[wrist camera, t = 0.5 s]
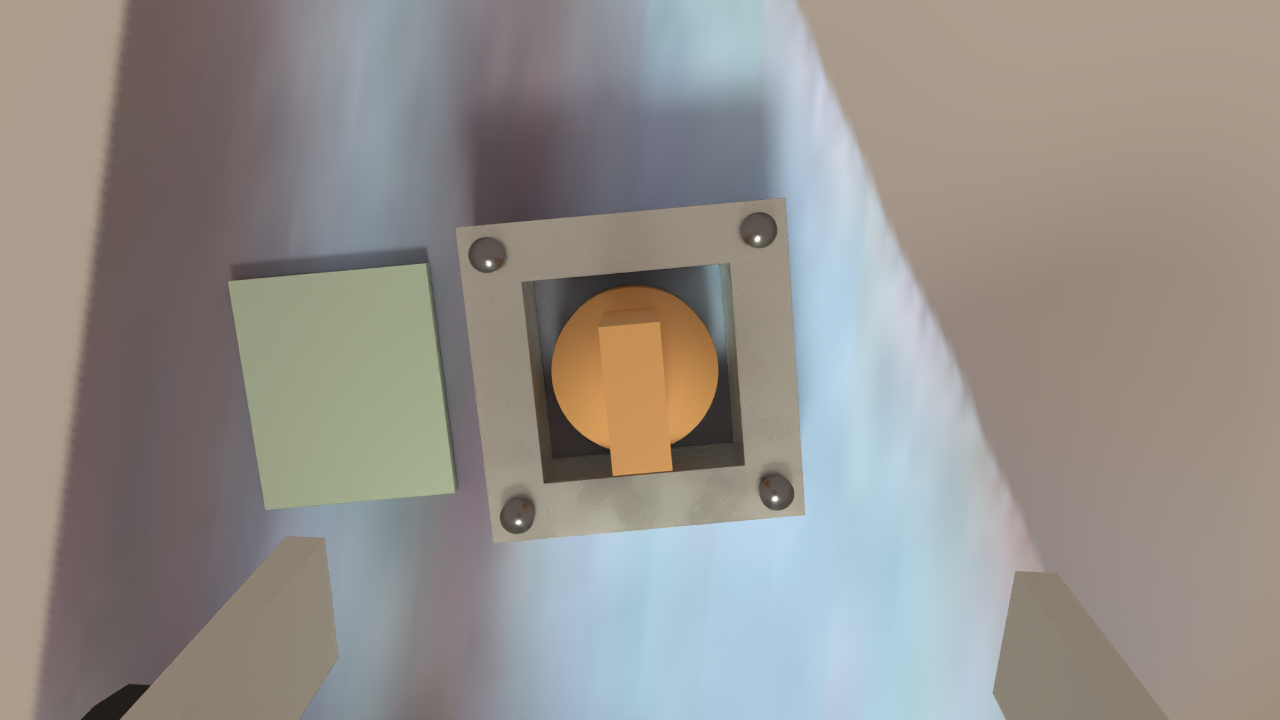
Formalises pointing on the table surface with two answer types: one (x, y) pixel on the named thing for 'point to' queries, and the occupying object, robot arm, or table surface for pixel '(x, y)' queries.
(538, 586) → the table surface
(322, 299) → the mat
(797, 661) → the table surface
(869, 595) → the table surface
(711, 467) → the housing
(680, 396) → the orange stamp
